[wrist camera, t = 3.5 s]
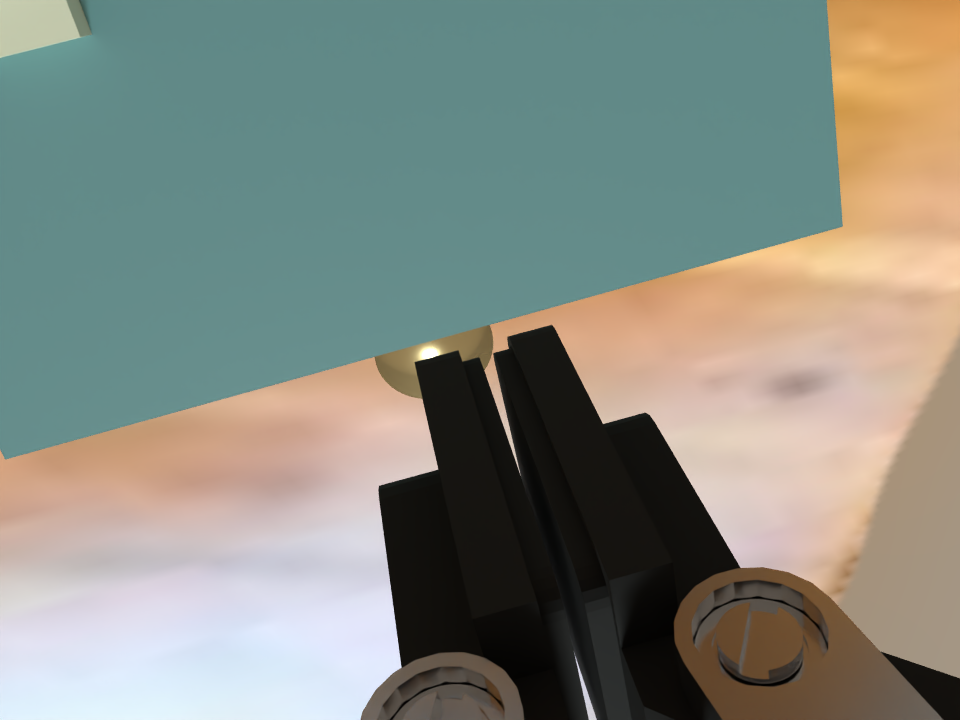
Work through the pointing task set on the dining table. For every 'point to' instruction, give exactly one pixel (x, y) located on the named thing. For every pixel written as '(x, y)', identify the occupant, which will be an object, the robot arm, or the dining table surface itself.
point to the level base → (402, 362)
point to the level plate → (370, 179)
